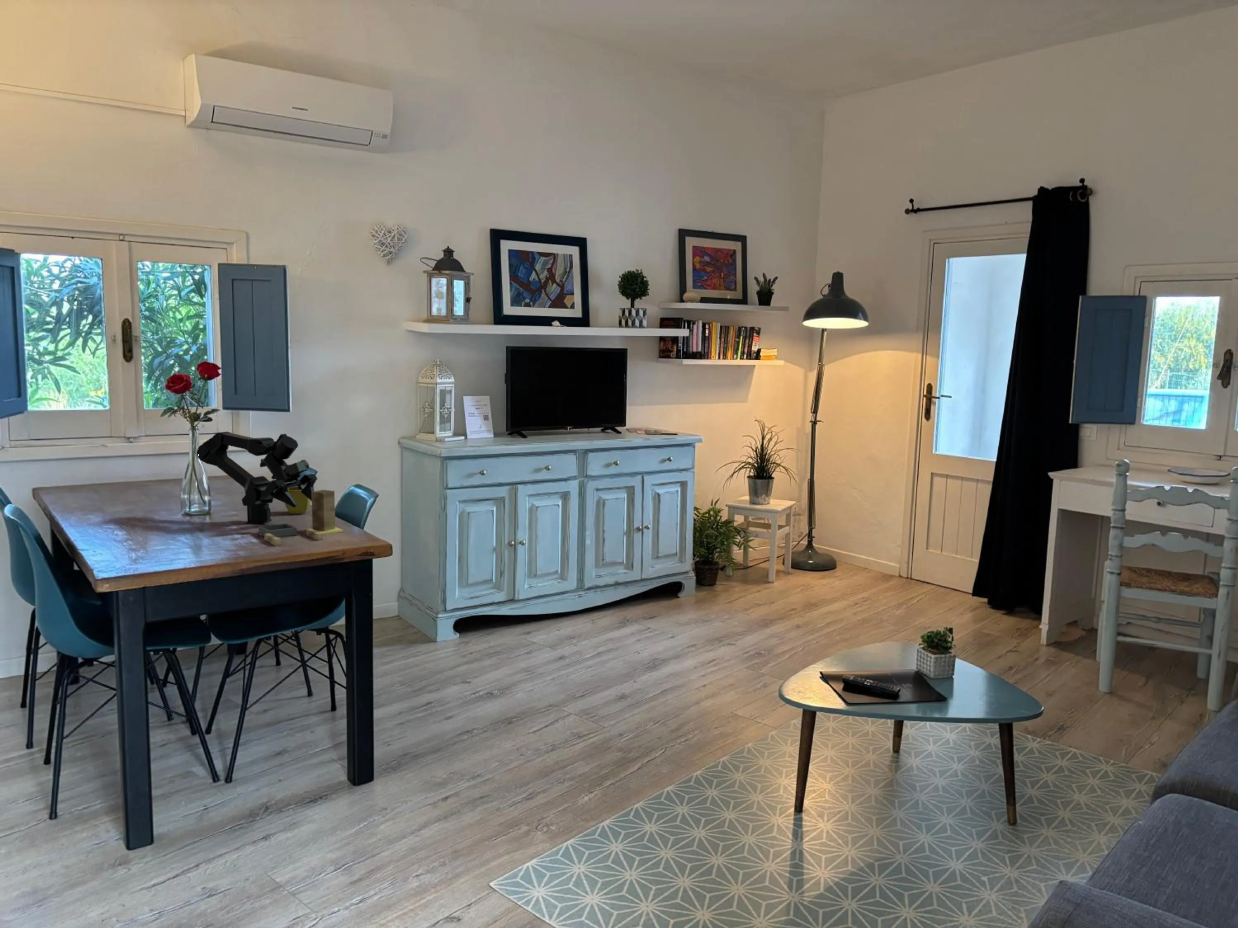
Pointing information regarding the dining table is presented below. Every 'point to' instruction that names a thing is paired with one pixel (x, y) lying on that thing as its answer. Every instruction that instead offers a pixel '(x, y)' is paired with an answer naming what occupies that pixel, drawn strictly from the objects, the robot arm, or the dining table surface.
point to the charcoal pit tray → (278, 530)
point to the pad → (330, 530)
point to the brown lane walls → (277, 541)
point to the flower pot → (298, 501)
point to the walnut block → (323, 510)
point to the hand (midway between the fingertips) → (305, 504)
